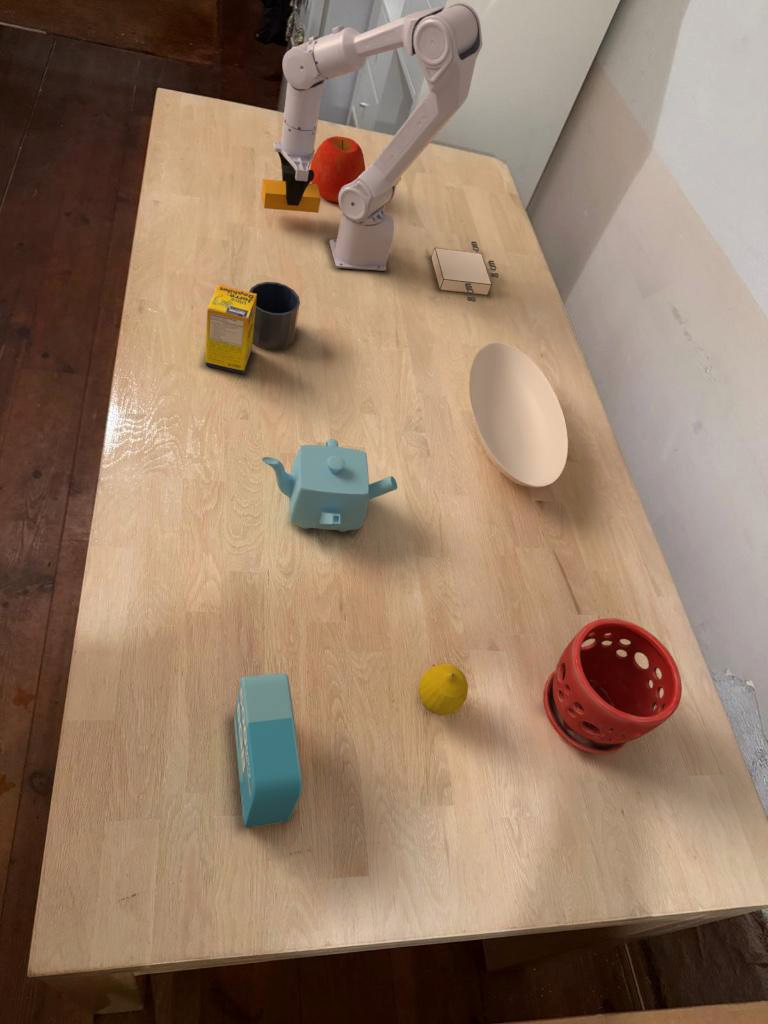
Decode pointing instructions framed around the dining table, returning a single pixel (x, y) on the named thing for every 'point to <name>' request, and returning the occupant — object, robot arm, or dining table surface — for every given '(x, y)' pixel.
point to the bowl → (517, 416)
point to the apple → (336, 165)
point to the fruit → (443, 689)
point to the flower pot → (610, 687)
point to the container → (462, 271)
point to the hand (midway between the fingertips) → (290, 196)
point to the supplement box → (230, 328)
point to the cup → (274, 315)
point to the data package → (267, 750)
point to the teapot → (329, 486)
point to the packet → (276, 197)
